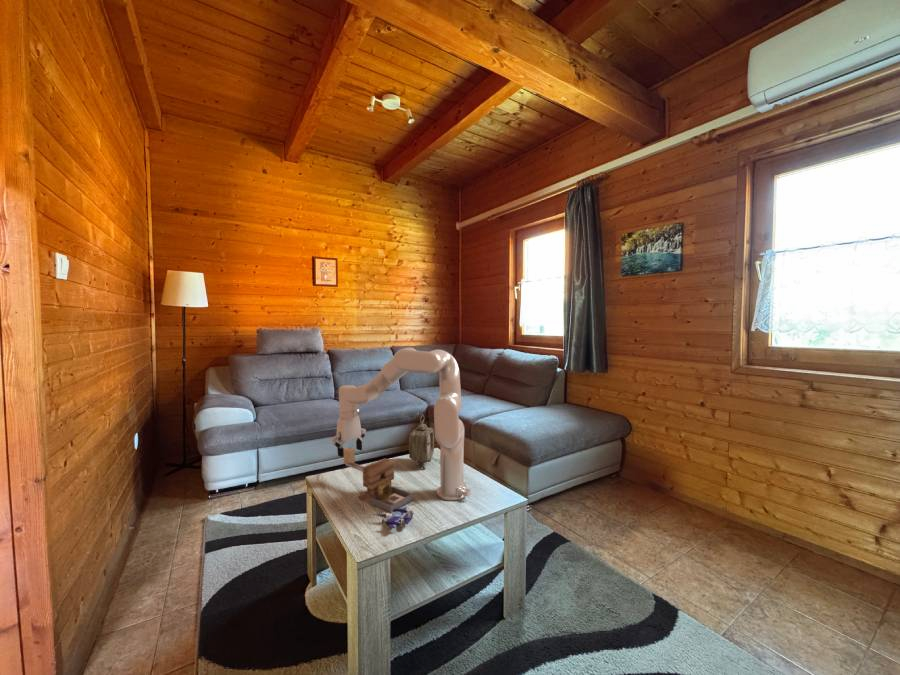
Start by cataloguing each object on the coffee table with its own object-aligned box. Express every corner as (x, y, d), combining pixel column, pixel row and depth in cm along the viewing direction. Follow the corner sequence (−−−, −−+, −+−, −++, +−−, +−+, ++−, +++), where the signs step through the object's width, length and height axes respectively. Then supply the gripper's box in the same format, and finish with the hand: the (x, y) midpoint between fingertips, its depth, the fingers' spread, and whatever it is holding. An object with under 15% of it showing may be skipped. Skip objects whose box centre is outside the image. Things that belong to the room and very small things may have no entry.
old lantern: (426, 471, 172) (426, 419, 171) (408, 469, 174) (408, 418, 173) (434, 460, 186) (433, 411, 185) (417, 458, 188) (416, 410, 187)
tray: (413, 500, 144) (413, 494, 144) (390, 513, 135) (390, 506, 135) (392, 492, 152) (392, 486, 151) (369, 503, 142) (369, 497, 142)
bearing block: (394, 492, 151) (393, 460, 150) (371, 504, 141) (371, 470, 141) (380, 487, 156) (379, 456, 155) (357, 498, 146) (357, 465, 146)
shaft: (383, 476, 148) (383, 458, 148) (377, 479, 145) (377, 461, 145) (350, 464, 161) (350, 447, 161) (343, 466, 158) (343, 449, 158)
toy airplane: (368, 521, 130) (368, 511, 130) (404, 510, 137) (404, 501, 137) (381, 539, 119) (381, 529, 119) (419, 527, 126) (419, 517, 126)
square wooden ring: (394, 496, 146) (405, 501, 143) (383, 502, 142) (393, 507, 138) (394, 493, 146) (405, 497, 143) (383, 499, 142) (393, 503, 138)
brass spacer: (391, 495, 148) (391, 480, 147) (380, 500, 143) (380, 486, 143) (389, 494, 149) (389, 479, 148) (377, 499, 144) (377, 484, 143)
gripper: (359, 408, 167) (360, 445, 167) (326, 417, 153) (327, 457, 154) (370, 410, 162) (371, 448, 163) (337, 419, 148) (338, 461, 149)
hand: (350, 452), depth 158 cm, fingers open, 9 cm apart
